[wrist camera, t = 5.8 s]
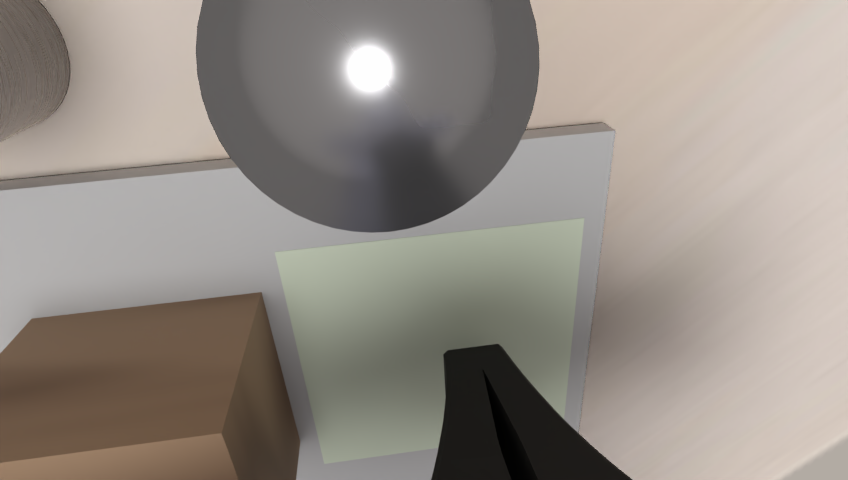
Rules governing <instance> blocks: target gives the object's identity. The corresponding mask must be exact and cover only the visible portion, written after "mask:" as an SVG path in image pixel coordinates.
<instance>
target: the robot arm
mask: <svg viewBox="0 0 848 480" xmlns="http://www.w3.org/2000/svg"><path fill="white" fill-rule="evenodd" d="M443 358H444V377H445V395H446V399H445V409H444V418H443V425H442V431H441V436H440V442H439V447H438V452H437V457H436V462H435V466H434V470H433V474H432V478H431V480H632V479H631V478H630V477H628V476H627V475H626V474H625V473H623V472H622V471H621V470H619V469H618V468H617V467H616V466H615V465H613V464H612V463H611V462H610V461H609V460H608V459H606V458H605V457H604V456H603V455H602V454H600V453H599V452H598V451H597V450H596V449H595V448H594V447H593V446H591V445H590V444H589V443H588V442H587V441H586V440H585V439H584V438H583V437H582V436H581V435H580V434H579V433H578V432H577V431H576V430H575V429H573V428H572V427H571V426H570V425H569V424H568V423H567V422H566V421H565V420H564V419H563V418H562V417H561V416H560V415H559V414H558V412H557V411H556V410H555V409H554V408H553V407H552V406H551V405H550V404H549V403H548V402H547V401H546V400H545V398H544V397H543V396H542V395H541V394H540V393H539V392H538V391H537V390H536V388H535V387H534V386H533V385H532V384H531V383H530V382H529V380H528V379H527V378H526V377H525V376H524V374H523V373H522V372H521V371H520V369H519V368H518V367H517V366H516V364H515V363H514V362H513V361H512V359H511V358H510V357H509V355H508V354H507V353H506V351H505V350H504V349H503V347H502V346H500V345H499V344H492V345H484V346H477V347H469V348H461V349H453V350H447V351H446V352H445V353H444V354H443Z"/></svg>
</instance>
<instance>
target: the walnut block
mask: <svg viewBox="0 0 848 480" xmlns="http://www.w3.org/2000/svg"><path fill="white" fill-rule="evenodd" d="M299 450H300V438H299V435H298V431H297V427H296V423H295V419H294V415H293V412H292V408H291V404H290V400H289V396H288V392H287V388H286V385H285V381H284V377H283V373H282V369H281V365H280V362H279V358H278V354H277V350H276V346H275V342H274V339H273V335H272V331H271V327H270V323H269V319H268V315H267V312H266V308H265V304H264V300H263V296H262V292H258V293H249V294H241V295H232V296H223V297H215V298H206V299H197V300H189V301H180V302H171V303H163V304H154V305H146V306H137V307H128V308H120V309H111V310H102V311H94V312H85V313H76V314H68V315H59V316H50V317H42V318H33V319H31V320H30V321H29V322H28V323H27V324H26V325H25V327H24V328H23V329H22V330H21V331H20V332H19V333H18V334H17V335H16V337H15V338H14V339H13V340H12V341H11V342H10V343H9V344H8V345H7V347H6V348H5V349H4V350H3V351H2V352H1V353H0V480H296V476H297V467H298V458H299Z"/></svg>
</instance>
